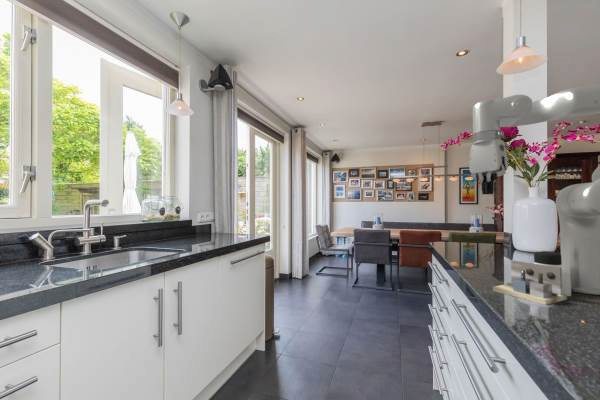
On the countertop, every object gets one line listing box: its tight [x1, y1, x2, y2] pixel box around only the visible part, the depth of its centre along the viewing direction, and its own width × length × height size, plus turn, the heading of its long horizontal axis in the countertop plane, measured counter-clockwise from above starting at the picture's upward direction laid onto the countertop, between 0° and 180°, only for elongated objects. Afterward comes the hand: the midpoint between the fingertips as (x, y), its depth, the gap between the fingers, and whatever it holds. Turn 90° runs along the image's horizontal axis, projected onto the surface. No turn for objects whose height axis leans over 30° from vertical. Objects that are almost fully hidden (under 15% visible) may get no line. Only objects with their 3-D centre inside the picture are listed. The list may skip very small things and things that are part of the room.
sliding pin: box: [513, 270, 534, 293], centre depth 78 cm, size 4×3×6 cm
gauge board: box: [492, 259, 568, 306], centre depth 79 cm, size 10×13×8 cm
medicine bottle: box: [533, 250, 572, 297], centre depth 82 cm, size 7×7×12 cm
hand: (487, 194), depth 92 cm, fingers closed
